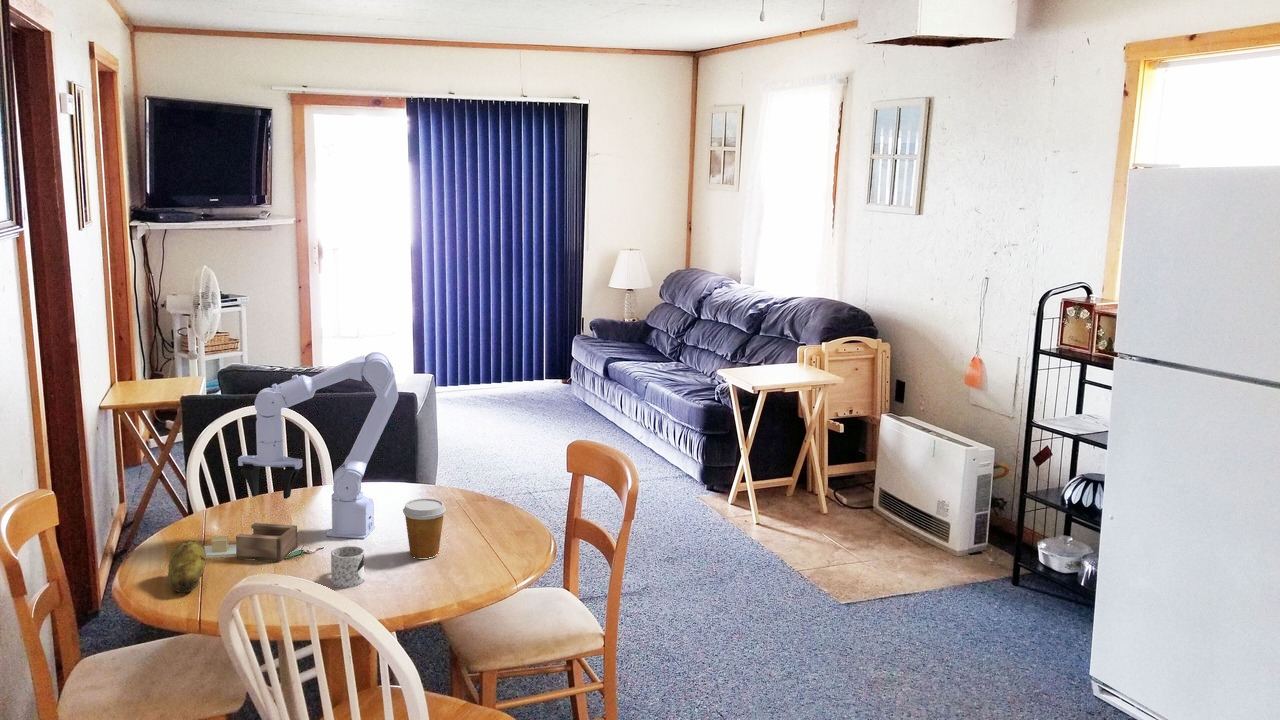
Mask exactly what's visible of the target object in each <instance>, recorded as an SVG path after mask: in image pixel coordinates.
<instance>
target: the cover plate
mask: <svg viewBox="0 0 1280 720" xmlns="http://www.w3.org/2000/svg"><path fill="white" fill-rule="evenodd" d="M204 547H205V553H206V556H207V559H219V558H220V557H223V558H236V557H235V556H236V543H235V544H229V535H225V536H224V535H220V536H213V538H212V540H211V545H204ZM209 557H211V558H209ZM216 557H218V558H216Z"/></svg>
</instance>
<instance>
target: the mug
mask: <svg viewBox="0 0 1280 720" xmlns="http://www.w3.org/2000/svg"><path fill="white" fill-rule="evenodd" d="M330 559H331V560H330V568H331V569H330V570H331V575H330V576H331V585H332V586H333V587H335V586H336V588H339V587H340V588H341V589H350V588H349V587H351V588H355V587H359V586H360V584H361V585H362V584H364V582H365V550H364V548H363V547H361V546H355V545H354V546H353V545H348V546H347V545H346V546H341V547H336V548H334V549H333V550H331V553H330ZM358 585H359V586H358ZM340 588H339V589H340Z"/></svg>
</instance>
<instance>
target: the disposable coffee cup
mask: <svg viewBox="0 0 1280 720" xmlns="http://www.w3.org/2000/svg"><path fill="white" fill-rule="evenodd" d="M402 512H403V514H404V517H405V524H406V525H405V526H406V532H407V540H408V547H409V548H408V549H409V554H410V555H411V556H412V557H415V558H429V557H433V556H435V555H436V554H438V555H439V553H438V552H439V551H440V545H441V537H442V530H443V522H444V515H445V512H447V508H446V506H445V503H444V502H443V501H442V500H440V499H436V498H417V499H412V500H409V501H407V502H406V503H405V505H404V508H403V509H402ZM411 556H410V557H411ZM415 558H414V559H415Z"/></svg>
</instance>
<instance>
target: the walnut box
mask: <svg viewBox="0 0 1280 720" xmlns="http://www.w3.org/2000/svg"><path fill="white" fill-rule="evenodd" d="M250 528H251V529H252V531H253V532H252V534H248V533H247V534H246V533H245V534H244V533H239V534H237V535H236V536H235V544H236V557H235V558H236V560H245V559H255V560H254V561H261V560H262V562H263V561H265V562H276V563H277V562H280V563H281V562H282V561H283V560H285V559H286V558H287V557H288V556H289V555H290V554H291V553H293V552H294V551H295V550H296V549H298V525H291V524H276V523H275V524H274V523H261V522H254V523H253V524H251V526H250ZM292 551H293V552H292ZM290 552H291V553H290ZM289 553H290V554H289ZM288 554H289V555H288ZM287 555H288V556H287ZM286 556H287V557H286Z"/></svg>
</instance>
